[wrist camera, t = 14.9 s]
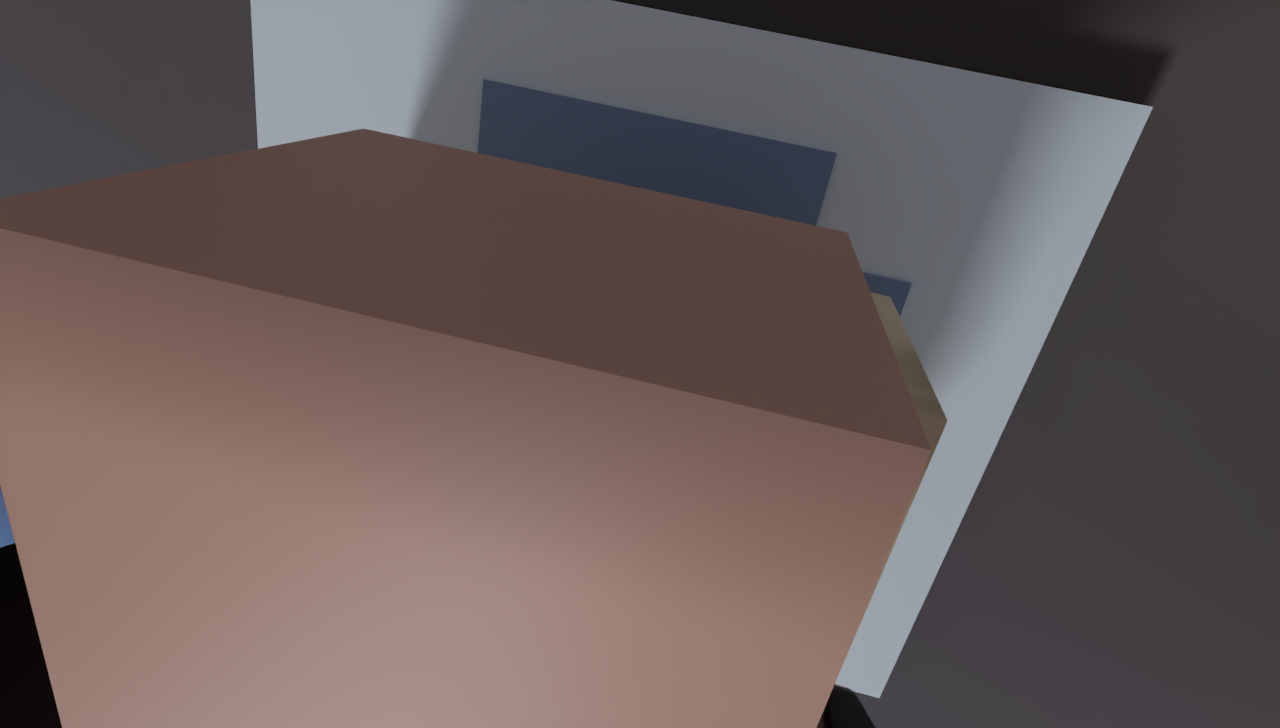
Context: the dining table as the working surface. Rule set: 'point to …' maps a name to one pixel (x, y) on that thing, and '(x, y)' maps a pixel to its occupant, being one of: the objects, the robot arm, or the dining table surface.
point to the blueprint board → (758, 177)
